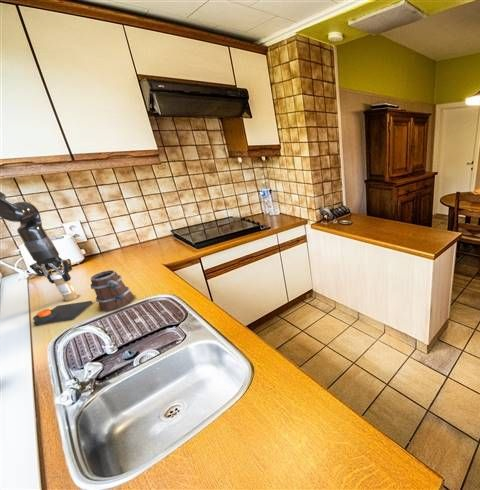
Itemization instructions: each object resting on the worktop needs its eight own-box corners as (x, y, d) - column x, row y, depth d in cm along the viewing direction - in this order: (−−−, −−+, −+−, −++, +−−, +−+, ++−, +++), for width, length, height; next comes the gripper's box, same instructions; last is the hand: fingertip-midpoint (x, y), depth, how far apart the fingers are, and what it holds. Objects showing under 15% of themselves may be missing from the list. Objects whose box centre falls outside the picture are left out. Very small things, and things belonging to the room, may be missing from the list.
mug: (95, 307, 118) (78, 278, 112) (127, 293, 127) (113, 265, 121) (112, 316, 111) (95, 286, 105) (144, 300, 121) (131, 272, 115)
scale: (32, 326, 107) (28, 320, 106) (57, 308, 118) (53, 302, 117) (71, 320, 110) (68, 314, 109) (92, 303, 121) (89, 297, 120)
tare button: (36, 318, 108) (33, 315, 107) (43, 313, 111) (41, 309, 110) (46, 317, 108) (44, 313, 108) (54, 311, 112) (52, 308, 111)
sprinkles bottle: (80, 294, 128) (66, 270, 123) (73, 300, 124) (58, 275, 119) (69, 296, 127) (55, 272, 122) (61, 301, 123) (46, 277, 118)
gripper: (67, 242, 120) (85, 275, 127) (29, 247, 117) (49, 280, 124) (53, 249, 113) (73, 283, 120) (12, 253, 110) (35, 288, 117)
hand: (61, 281), depth 122 cm, fingers closed on sprinkles bottle, 4 cm apart
